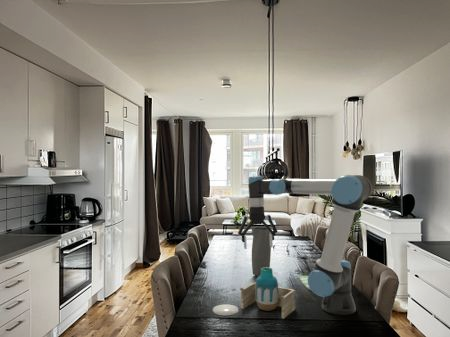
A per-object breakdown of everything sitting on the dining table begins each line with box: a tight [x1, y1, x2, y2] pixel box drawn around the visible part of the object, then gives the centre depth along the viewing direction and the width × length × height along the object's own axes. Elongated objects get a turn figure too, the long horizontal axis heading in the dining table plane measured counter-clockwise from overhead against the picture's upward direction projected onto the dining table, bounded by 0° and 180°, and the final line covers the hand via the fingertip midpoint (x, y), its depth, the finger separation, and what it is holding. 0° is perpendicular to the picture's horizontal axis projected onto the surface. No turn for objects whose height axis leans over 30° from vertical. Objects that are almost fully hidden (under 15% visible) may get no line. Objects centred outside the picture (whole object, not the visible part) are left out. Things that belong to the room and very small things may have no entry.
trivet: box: [212, 303, 239, 316], centre depth 163 cm, size 12×12×1 cm
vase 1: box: [251, 226, 272, 278], centre depth 218 cm, size 12×12×30 cm
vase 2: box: [255, 267, 279, 312], centre depth 164 cm, size 11×11×19 cm
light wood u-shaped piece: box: [239, 282, 296, 320], centre depth 164 cm, size 22×14×10 cm, turn 56°
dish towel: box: [298, 275, 313, 292], centre depth 201 cm, size 17×23×4 cm
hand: (258, 247), depth 177 cm, fingers open, 13 cm apart
